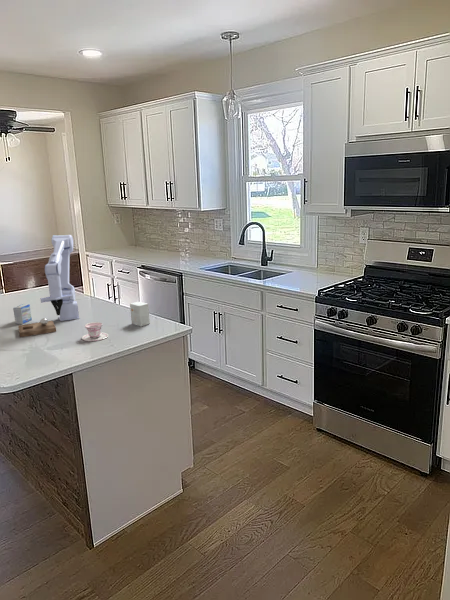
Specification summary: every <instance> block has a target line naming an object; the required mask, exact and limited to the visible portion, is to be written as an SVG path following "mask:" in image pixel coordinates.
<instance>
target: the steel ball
mask: <svg viewBox="0 0 450 600" xmlns="http://www.w3.org/2000/svg"><path fill="white" fill-rule="evenodd" d="M48 321H49V320H48V319H47V318H41V319H40V321H39V322H40V324H41V325H43V326H45V325H47V323H48Z"/></svg>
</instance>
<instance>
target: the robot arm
mask: <svg viewBox="0 0 450 600" xmlns="http://www.w3.org/2000/svg"><path fill="white" fill-rule="evenodd" d="M51 244H52V247H53V252H52V253H50V256H49V258H48V262H47V263H46V264H45V265H44V273H45V277H46V280H47V283H48V291H49V296H45V297H41V298H40V299H39V301H40V304H43V303H48V302H50V303H51V305H52V306H53V308H54V310H55V313H56V316H58V319H59V321H60V322H63V321H72V320H79V319H80V315H79V312H80V311H79V306H78V301H77V300H76V296H77V295H76V290H75V289H76V288H75V286H74V285H72V284H71V283H70V269H71V268H70V259H71V258H70V257H71V253H73V252H74V237H73V235H72V234H64V235H63V234H61V235H59V234H57V235H55V234H53V235H52V236H51Z"/></svg>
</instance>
